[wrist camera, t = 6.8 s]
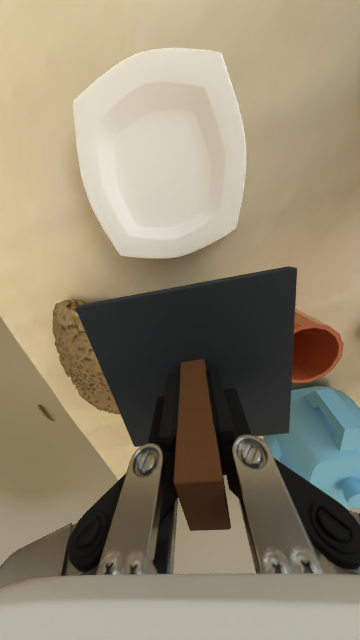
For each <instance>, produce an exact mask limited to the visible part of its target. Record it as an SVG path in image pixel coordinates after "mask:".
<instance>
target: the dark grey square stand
mask: <svg viewBox="0 0 360 640" xmlns="http://www.w3.org/2000/svg"><path fill="white" fill-rule="evenodd" d="M296 278H297V268H294V267H289V266H288V267H283V268H277V269H272V270H266V271H261V272H256V273H250V274H245V275H239V276H234V277H229V278H223V279H218V280H212V281H207V282H201V283H196V284H191V285H185V286H180V287H174V288H169V289H163V290H158V291H153V292H147V293H142V294H136V295H131V296H126V297H120V298H115V299H109V300H104V301H98V302H93V303H88V304H83V305H81V306H79V307H77V308H76V311H77V313H78V316H79V318H80V320H81V323H82V325H83V327H84V330H85V332H86V334H87V337H88V339H89V341H90V344H91V346H92V348H93V351H94V353H95V355H96V358H97V360H98V362H99V365H100V367H101V369H102V372H103V374H104V376H105V379H106V381H107V383H108V386H109V388H110V390H111V393H112V395H113V397H114V400H115V402H116V404H117V407H118V409H119V411H120V414H121V416H122V418H123V421H124V423H125V426H126V428H127V430H128V433H129V435H130V437H131V440H132V442H133V444H134V446H135V447H137V446H142V445H144V444H148V439H149V435H150V430H151V425H152V420H153V415H154V410H155V405H156V401H157V398H158V397H163V396H165V391H166V384H167V378H168V373H171V372H178V374H180V375H181V377H180V394H179V411H178V428H177V433H176V447H175V464H174V480H173V482H174V486H175V488H176V491H177V494H178V497H179V500H180V503H181V506H182V508H183V512H184V514H185V517H186V520H187V523H188V526H189V528H190V530H191V531H194V530H225V529H230V528H231V525H230V518H229V512H228V505H227V498H226V492H225V485H224V479H223V473H222V467H221V461H220V455H219V449H218V444H217V438H216V432H215V428H214V425H213V419H212V412H211V405H210V398H209V391H208V384H207V377H206V370H209V367H216V366H218V370H219V373H220V377H221V381H222V385H223V389H230V388H236V390H237V393H238V396H239V399H240V402H241V405H242V408H243V411H244V413H245V416H246V419H247V422H248V425H249V428H250V431H251V434H252V435H254V436H264V435H275V434H287V433H289V425H290V404H291V383H292V362H293V341H294V320H295V299H296Z"/></svg>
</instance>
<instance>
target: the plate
mask: <svg viewBox="0 0 360 640" xmlns="http://www.w3.org/2000/svg"><path fill="white" fill-rule="evenodd" d="M73 114H74V128H75V138H76V148H77V156H78V162H79V168H80V174H81V178H82V181H83V185H84V189H85V192H86V195H87V197H88V200H89V202H90V205H91V207H92V210H93V212H94V213H95V215H96V217H97V219H98V221H99V223H100V225H101V227H102V228H103V230H104V231H105V233H106V235H107V236H108V238H109V239H110V241H111V243H112V244H113V246H114V247H115V249H116V250H117V252H118V253H119V255H120V256H125V257H133V258H146V259H167V258H176V257H181V256H184V255H187V254H190V253H193V252H195V251H197V250H200V249H202V248H204V247H206V246H208V245H210V244H212V243H214V242H215V241H217V240H219V239H221V238H223V237H224V236H226V235H228V234H229V233H231V232H233V231H234V230H236V228H237V223H238V218H239V213H240V208H241V203H242V197H243V192H244V184H245V175H246V143H245V134H244V127H243V123H242V118H241V114H240V110H239V105H238V102H237V99H236V96H235V92H234V89H233V86H232V83H231V80H230V77H229V74H228V71H227V68H226V65H225V62H224V59H223V57H222V54H221V52H216V51H209V50H202V49H188V48H163V49H154V50H149V51H143V52H138V53H136V54H134V55H133V56H131V57H129V58H127V59H125V60H123V61H121V62H119V63H118V64H116V65H115V66H114V67H112V68H111V69H109V70H108V71H106V72H105V73H104V74H102V75H101V76H100V77H99V78H98V79H97V80H95V81H94V82H93V83H92V84H91V85H90V86H88V87H87V88H86V89H85V90H84V91H83V92H82V93H81V94H80V95H79V96H78V97H77V98H76V99H75V100H74V101H73Z"/></svg>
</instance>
